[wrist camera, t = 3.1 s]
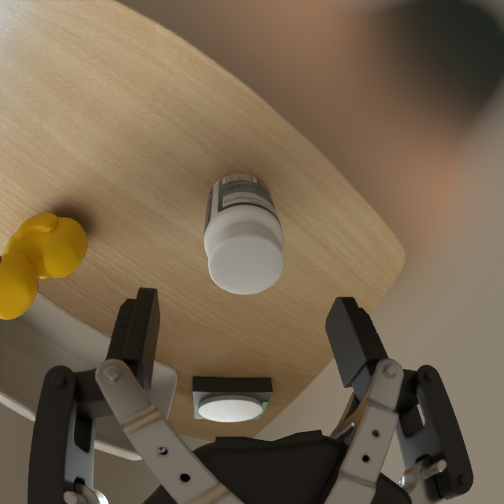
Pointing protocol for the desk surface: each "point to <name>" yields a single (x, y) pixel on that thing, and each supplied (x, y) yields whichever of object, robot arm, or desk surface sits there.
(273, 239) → the pill bottle
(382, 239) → the desk surface
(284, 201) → the desk surface
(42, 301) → the tank
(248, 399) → the scale
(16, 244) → the duckling
